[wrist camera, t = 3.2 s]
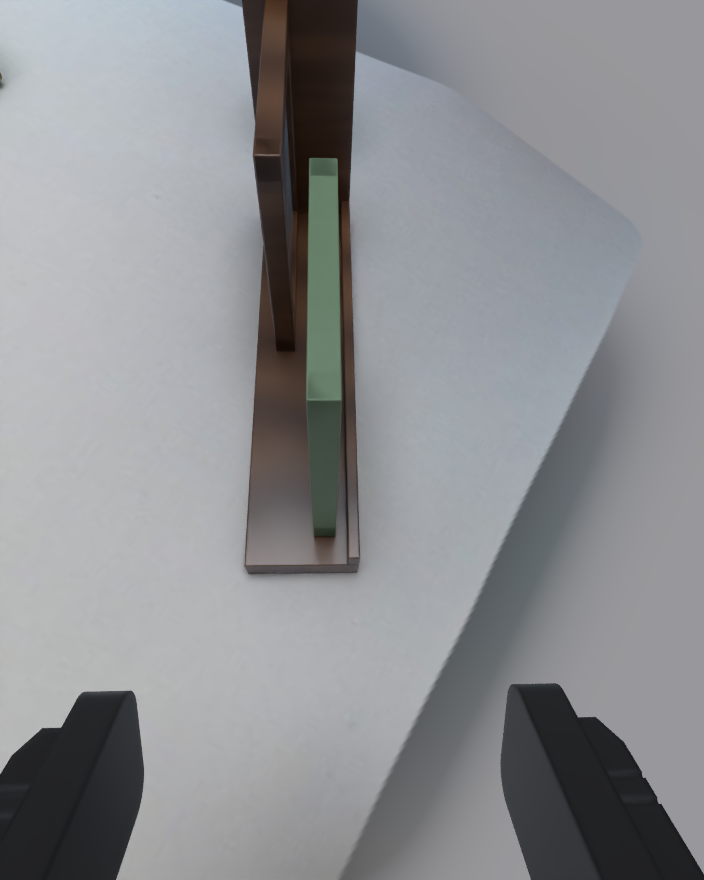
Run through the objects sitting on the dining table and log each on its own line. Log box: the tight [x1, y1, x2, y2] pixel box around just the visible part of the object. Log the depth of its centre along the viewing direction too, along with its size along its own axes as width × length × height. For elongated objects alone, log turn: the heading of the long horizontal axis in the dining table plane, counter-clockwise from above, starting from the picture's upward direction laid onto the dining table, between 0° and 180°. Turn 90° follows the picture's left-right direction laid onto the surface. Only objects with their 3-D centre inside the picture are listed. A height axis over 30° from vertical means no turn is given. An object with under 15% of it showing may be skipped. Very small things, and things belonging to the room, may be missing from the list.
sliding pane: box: [306, 158, 342, 536], centre depth 29 cm, size 12×1×14 cm, turn 1°
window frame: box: [242, 0, 360, 574], centre depth 33 cm, size 27×6×17 cm, turn 1°
